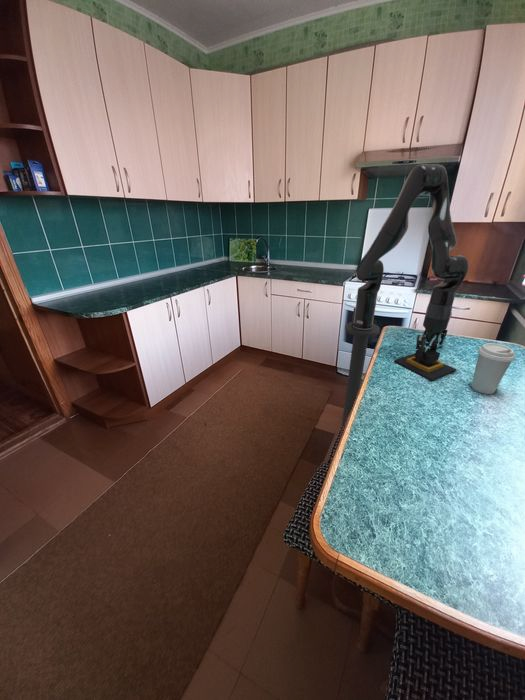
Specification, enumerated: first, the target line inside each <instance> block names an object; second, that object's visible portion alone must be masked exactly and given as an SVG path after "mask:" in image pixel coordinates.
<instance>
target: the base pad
mask: <svg viewBox="0 0 525 700" xmlns="http://www.w3.org/2000/svg"><path fill="white" fill-rule="evenodd" d="M415 353H416V352H414V353H412V354H409V355H405V356H402V357H400V358H397V359H394V360H393V363H395V364H396V365H398V366H400V367H402V368H404V369H406V370H408V371H410V372H412V373H414V374H416V375H417V376H419V377H422V378H424V379H426V380H428V381H429V382H434V381H436V380H439V379H441V378H444V377H446V376H448V375H451V374H453V373H455V372H456V371H457V368H455V367H453V366H450V365H448V364H445V362H442V361H439V359H438V360H437V361H434V362H432V363H426V362H424V361H422V360H420V359H418V358H416V357H415Z"/></svg>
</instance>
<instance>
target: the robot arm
mask: <svg viewBox="0 0 525 700" xmlns="http://www.w3.org/2000/svg"><path fill="white" fill-rule="evenodd" d="M420 196H423V197H424V196H425V197H427V196H428V197H429V200H430V202H431V207H432V208H431V209H432V210H431V215H430V218H429V221H428V225H427V232H428V237H429V238H428V239H429V241H430V246H431V249H432V250H431V251H432V252H431V265H430V267H431V272H432V274H433V275H434V277H435V278H436V279H439V280H442V282H440V283H438V284H436V285H435V286H433V288H432V290H431V293H430V297H429V301H428V304H427V307H426V309H425V310H426V311H425V315H424V318H423V323H422V327H423V328H424V331H423V334H417V336H416V345H415V349H416V350H420V352H419V356H418V359H420V360H424V359H425V356H426V352H427V349H428V348H429V347H430V348H429V349H432V350H434V351H436V352H438V348H439V345H442V344H443V341H444V339H445V340H446V336H447V334H448V331H449V330H448V329H447V328H448V326H449V323H448V322H450V320H451V318H450V315H451V312H453V305H454V302H455V298H456V294H457V292H458V290H459V289H460V287H461V285H462V283H463V281H464V280H465V279H466V277H467V274H468V272H469V269H470V262H469V260H468V258H467V257H466V256H464V255H450V251H451V250H453V249H454V248H456V246H457V244H458V239H457V235H456V231H455V228H454V224H453V220H452V216H451V207H450V191H449V177H448V172H447V169H446V167H445V166H444V165H441V164H437V163H435V164H434V163H422V164H418V165H416V166H415V167H413V168H412V170H411V171H410V172H409V173H408V175H407V177H406V179H405V182H404V184H403V186H402V188H401V190H400V192H399V195H398V196H397V199H396V201H395V203H394V205H393V207H392V209H391V211H390V212H389V214H388V216H387V217H386V219H385V221H384V223H383V224H382V226H381V228H380V229H379V231H378V233H377V235H376V237H375V239H374V240H373V242H372V244H371V245H370V246H369V249H368V250H367V251H366V252H365V254H364V255H363V257H362V258H361V259H360V261H359V262H358V264H357V266H356V270H355V277H356V278H357V280H359V281H361V282H365V283H364V284H363V285H361V286H359V287H358V288H357V294H356V299H355V300H356V301H355V307H354V308H353V312H352V318H351V319H352V320H351V322H352V326H353V328H355V329H357V330H362V331H368V330H371V329H372V325H373V324H374V318H375V313H376V307H377V301H378V295H379V294H378V293H379V291H380V289H381V285H382V280H383V277H384V269H385V267H384V263H383V262H382V260H380V259H381V258H383V257H384V256H385V255H387V254H388V253H390V252H391V251H392V250H393V249H395V248H396V247H397V246H398V245H399V244H400V242H401V241H402V239H403V238H404V236H405V235H406V233H407V232H408V229H409V225H410V223H409V221H410V219H409V218H410V217H409V216H410V215H409V214H410V210H411V209H412V206H413V205H414V203H415V202H416V200H417V199H418V198H419V197H420ZM449 319H450V320H449ZM428 342H429V343H428ZM443 345H444V344H443ZM443 345H442V346H443ZM424 347H425V348H424Z"/></svg>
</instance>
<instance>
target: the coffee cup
mask: <svg viewBox="0 0 525 700" xmlns="http://www.w3.org/2000/svg"><path fill="white" fill-rule="evenodd" d="M477 354H478V356H477V360H476V363H475V368H474V372H473V376H472V381H471V384H470V385H471V386H470V387H471V388H472V389H473V390H474V391H476V392H478V393H482V394H486V395H492V394H494V393H495V392H496V391H497V388H498V387H499V385H500V383H501V381H502V379H503V378H504V376H505V374H506V372H507V371H508V369H509V367H510V365H511V363H512V362H514V361H515V360H516V355H515V350H513V349H512V348H511V347H509V346H507V345H503V344H500V343H494V342H493V343H492V342H488V343H483V345H482V346H479V348H478V349H477Z"/></svg>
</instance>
